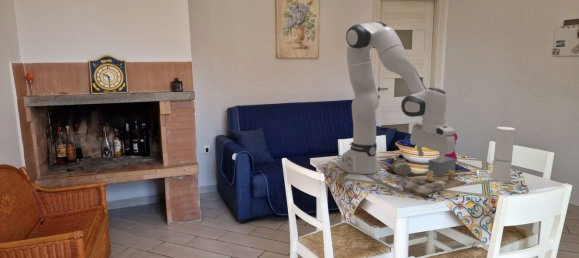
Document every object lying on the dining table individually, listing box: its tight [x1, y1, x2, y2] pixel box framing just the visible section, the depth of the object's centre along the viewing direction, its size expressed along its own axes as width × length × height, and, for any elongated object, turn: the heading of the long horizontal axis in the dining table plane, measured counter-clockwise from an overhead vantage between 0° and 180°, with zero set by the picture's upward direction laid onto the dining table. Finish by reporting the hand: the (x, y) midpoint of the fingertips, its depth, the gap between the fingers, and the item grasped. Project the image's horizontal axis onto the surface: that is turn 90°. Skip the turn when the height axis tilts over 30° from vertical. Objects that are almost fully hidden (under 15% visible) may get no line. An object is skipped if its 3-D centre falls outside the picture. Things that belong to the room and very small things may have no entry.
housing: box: [427, 156, 457, 177], centre depth 194 cm, size 6×12×8 cm, turn 122°
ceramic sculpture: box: [386, 157, 412, 176], centre depth 197 cm, size 11×9×15 cm
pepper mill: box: [444, 132, 458, 162], centre depth 206 cm, size 7×7×20 cm
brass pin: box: [426, 169, 434, 183], centre depth 174 cm, size 3×3×7 cm
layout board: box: [402, 170, 468, 199], centre depth 177 cm, size 12×28×6 cm, turn 123°
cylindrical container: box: [491, 126, 516, 184], centre depth 182 cm, size 7×7×25 cm
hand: (429, 158), depth 173 cm, fingers open, 8 cm apart
